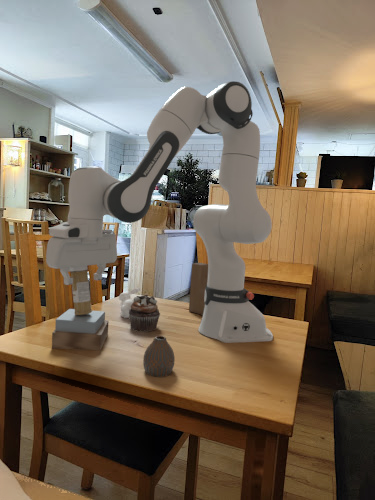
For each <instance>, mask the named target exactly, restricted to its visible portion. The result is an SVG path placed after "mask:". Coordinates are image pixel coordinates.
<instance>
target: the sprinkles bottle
mask: <svg viewBox="0 0 375 500" xmlns="http://www.w3.org/2000/svg"><path fill="white" fill-rule="evenodd" d="M69 272H70V277H72V278H73V284H71V289H72V290H71V292H72V299H73V300H72V302H73V309H75V313H74V314H75V315H84V314H89V313H91V312H92V311H93V310H92V305H91V294H90V293H91V292H90V282H89V277H88V265H87V266H77V267H70V271H69Z"/></svg>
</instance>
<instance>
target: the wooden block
mask: <svg viewBox="0 0 375 500" xmlns="http://www.w3.org/2000/svg"><path fill="white" fill-rule="evenodd" d="M207 282H208V263H203V262H194V263H193V262H192V264H191V276H190V289H189V290H190V291H189V303H188V311H189V312H192V313H195V314H198V315H201V316H203V313H204V308H205V302H204V296H205V289H206V285H207Z"/></svg>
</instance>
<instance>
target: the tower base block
mask: <svg viewBox="0 0 375 500" xmlns="http://www.w3.org/2000/svg"><path fill="white" fill-rule="evenodd" d="M51 335H52V336H51V337H52V338H51V350H52V349H55V350H58V349H59V350H77V351H78V350H84V351H86V350H87V351H88V350H89V351H101V350H102V348H103V346H104V343H105V342H106V340H107V338H108V335H109V320H106V319H105V322H104V323H103V325H102V326H101V327H100V328H99V329H98V331H97V332H96V333H95V334H89V333H76V332H63V331H55V329H54V330H53V331H52V334H51Z"/></svg>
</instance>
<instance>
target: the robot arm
mask: <svg viewBox="0 0 375 500" xmlns="http://www.w3.org/2000/svg"><path fill="white" fill-rule="evenodd" d="M252 105H253V103H252V98H251V93H250V91H249V90H248V88H247V87H246V85H244V83H242V82H240V81H228V82H224V83H222V84H220V85H218V87H216V88H215V89H213V90H212V91H211V92H209V93H208V94H207V95H203V94H202V93H201V92H199V91H198V89H195V88H194V87H191V86H183V87H180V88H178V90H176V92H174V93H173V94H172V95H171V96H170V97H169V98H168V99H167V100H166V102H164V104H162V106H161V108H160V109H159V110H158V111H157V113H156V114H155V116H154V118H153V119H152V121H151V122H150V125H149V126H148V129H147V131H146V136H147V141H148V143H149V146H148V149H147V152H146V153H145V154H144V156H143V158H142V159H141V160H140V161H139V164H138V165H137V167H136V168H135V170H134V171H133V172H132V174H131V175H130V176H128V177H127V178H125V179H124V180H122V181H121V179H120V180H119V179H117V178H115V177H114V176H112V175H110V174H109V173H107V171H105V170H104V169H103V168H102V167H101V166H95V165H94V166H93V165H92V166H82V167H78V168H76V169H74V170H73V172H71V173H70V179H69V181H68V182H69V184H68V195H67V196H68V197H67V198H68V200H67V201H68V204H69V211H68V215H67V221H64V222H62V223H60V224H58V225H54V226H51V227H50V228H49V230H48V234H49V236H51V237H50V238H49V240H48V242H47V245H46V251H45V252H46V255H45V258H46V259H45V262H46V265H47V266H48V267H49V268H52V269H56V270H57V269H59V271H60V273H61V275H62V277H63V285H66V286H69V285H71V286H72V284H73V278H72V277H71V275H70V274H69V272H70V267H77V266H87V267H88V266H94V265H96V267H97V270H96V272H95V273H93V280H95V281H101V280H102V279H103V274H104V272H105V270H106V268H107V264H114V263H115V262H116V260H117V258H118V248H117V247H118V245H117V239H116V235H117V234H116V233H115V232H114V231H113V230H112V229H110V228H109V229H104V217H105V216H110V217H112V218H114V219H117V220H119V221H121V222H122V223H129V224H130V223H135V222H138V221H140V220H142V219H143V218H144V217H145V216H146V215H147V214H148V212H149V210H150V207H151V203H152V197H153V194H154V190H155V189H156V187H157V185H158V184H159V182H160V181H161V179H162V177H163V176H164V175H165V173H166V171H167V170H168V168H169V166H170V165H171V163H172V162H173V159H174V158H175V157H176V156H177V155H178V153H179V152H180V151H181V150H182V149H183V148H184V146H186V144H187V143H188V141H189V140H190V139H191V138H192V136H193V134H194V133H195V132H196V130H197V129H198V131H201V133H204V134H206V135H217V134H221V137H222V142H223V143H222V145H223V147H222V151H221V157H220V163H219V164H220V165H219V172H218V179H217V180H218V181H217V182H218V183H219V186H220V187H221V189H223V190H224V191H225V192H227V194H228V199H229V203H228V204H222V203H220V204H219V203H213V204H207V205H203V206H202V205H201V206H200V207H199V208H197V210H196V211H195V213H194V215H193V222H192V224H193V228H194V231H195V233H197V235H198V236H199V237H200V239H201V240H202V242H203V245H204V247H205V251H206V255H207V264H208V278H207V285H206V289H205V296H204V302H205V308H204V313H203V315H202V318H201V320H200V325H199V327H198V332H199V333H200V334H201V335H203V336H204V337H205V336H206V337H208V338H212V339H215V340H218V341H220V342H221V343H231V344H233V343H254V342H255V343H256V342H258V343H259V342H271V341H273V339H274V335H273V333H272V331H271V330H270V329H269V328H268V327H267V323H266V319H265V316H264V314H263V313H262V312H261V311H260V310H259V309H258V308H257V307H256V306H255V305H254V304H253V303H251V302H250V301H249V300H251V301H252V300H253V299H254V297H255V294H254V293H252V291H249V290H247V289H246V288H245V287H244V286H245V277H246V276H245V275H246V262H245V261H244V259H243V258H242V257H241V256H240V255H239V254H238V253H237V251H236V250H235V245H234V243H237V244H242V245H244V244H245V245H251V244H260V243H263V242H265V241H266V240H267V238H269V236H270V234H271V232H272V229H273V222H272V218H271V216H270V213H269V212H268V211H267V210H266V209H265V208H264V206H263V205H262V203H261V201H260V200H259V199H260V198H259V196H258V192H257V177H258V168H259V160H260V153H261V152H260V151H261V134H260V133H261V132H260V128H259V126H258V125H257V124H256V123H255V122H254V121H252V118H253V115H254V112H253V109H252Z"/></svg>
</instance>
